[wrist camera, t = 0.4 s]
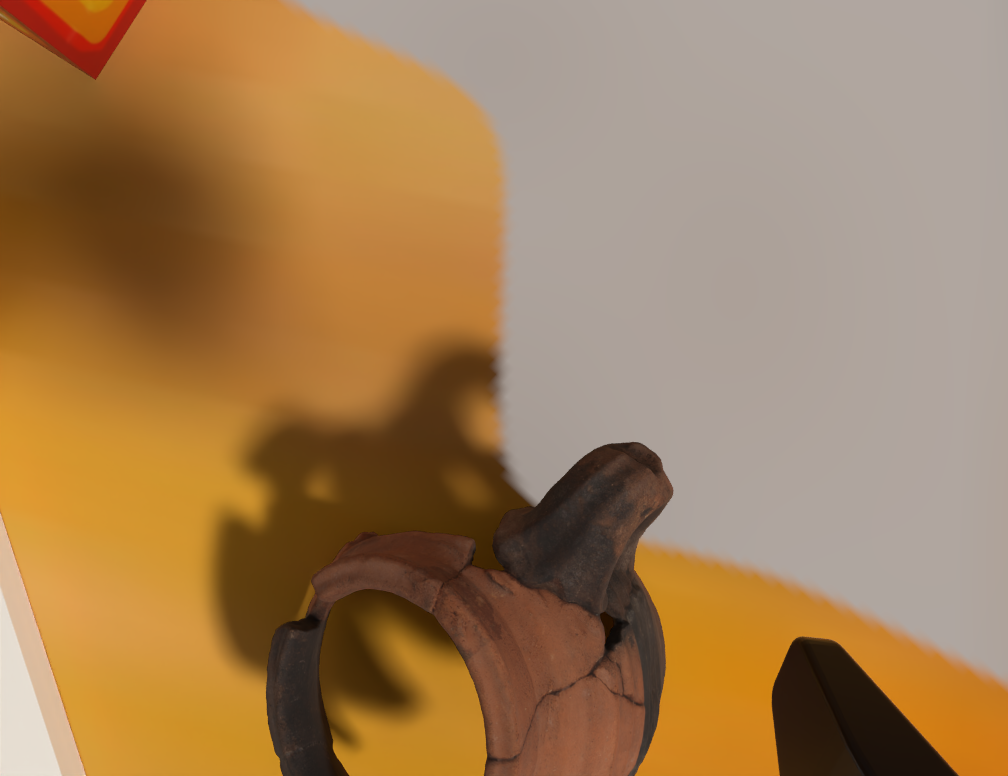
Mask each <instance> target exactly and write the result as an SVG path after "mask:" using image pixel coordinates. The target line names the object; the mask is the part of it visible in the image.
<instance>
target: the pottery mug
mask: <svg viewBox="0 0 1008 776" xmlns="http://www.w3.org/2000/svg"><path fill="white" fill-rule="evenodd" d="M672 495H673V487H672V485H671V483H670V481H669V479H668V478H667V476H666V474H665V472H664V471H663V466H662V462H661V459H660V458H659V457H658V456H657V454H656V453H654V452H653V451H651V450H650V449H649V448H647V447H646V446H645V445H643V444H641V443H638V442H630V443H616V444H607V445H604V446H602V447H599V448H597V449H594V450H593V451H591V452H590V453H588V454H587V455H585V456H584V457H583V458H582V459H580V460H579V461H578V462H577V463H576V464H575V465H574V466H573V467H572V468H571V469H570V470H569V471H568V472H567V473H566V474H565V475H564V476H563V477H562V478H561V479H560V480H559V481H558V482H557V483H556V484H555V485H554V486H553V487H552V488H551V489H550V490H549V491H548V492H547V494H546V495H545V496H544V498H543V499H542V500H541V502H540V503H539V504H538V505H537V506H536V507H535V508H534V507H531V506H530V507H525V508H520V509H513V510H510V511H508V512H507V513H506V514H505V515H504V516H503V518H502V520H501V522H500V525H499V528H498V529H497V530H496V532H495V533H494V536H493V544H492V547H493V550H494V553H495V556H496V559H497V560H498V562H499V563H500V564H501V565H502V566H503V567H504V568H505V570H503V571H498V570H495V569H482V568H480V567H476V566H473V565H472V561H473V555H474V553H475V550H476V545H475V541H474V540H473V539H472V538H469V537H466V536H461V535H451V534H443V533H427V532H421V531H409V532H403V533H396V534H390V535H381V536H378V535H377V534H376V533H375V532H370V533H368V532H362V533H360V534H359V535H358V536H357V538H356V539H355V540H354V541H351V542H348V543H347V544H345V546H344V547H343V548H342V549H341V550H340V551H339V553H338V555H337V556H336V558H335V559H334V561H333V562H332V563H331V564H329V565H327V566H325V567H324V568H322V569H321V570H319V571H318V572H317V573H315V574H314V575H313V577H312V579H311V582H312V585H313V586H314V589H315V595H314V597H313V598H312V600H311V602H310V604H309V607H308V611H307V614H306V617H305V618H304V619H301V620H299V621H291V622H287V623H285V624H283V625H281V626H280V627H279V628H277V629H276V631H275V634H274V636H273V638H272V644H271V650H270V653H269V660H268V666H267V686H266V701H267V715H268V725H269V729H270V734H271V738H272V741H273V745H274V750H275V753H276V755H277V756H278V757H279V758H280V768H281V772H282V774H283V776H349V775H348V773H347V772H346V770H345V769H344V767H343V765H342V764H341V762H340V761H339V760H338V759H337V757H336V755H335V753H334V751H333V739H332V735H331V731H330V727H329V723H328V720H327V717H326V713H325V709H324V704H323V700H322V696H321V688H320V681H319V661H320V649H321V645H322V639H323V634H324V630H325V627H326V622H327V618H328V615H329V613H330V610H331V607H332V606H333V604H334V603H335V601H336V600H339V599H341V598H343V597H345V596H347V595H349V594H351V593H353V592H355V591H358V590H363V589H376V590H382V591H388V592H391V593H394V594H396V595H399V596H401V597H403V598H405V599H407V600H408V601H410V602H412V603H414V604H416V605H417V606H419V607H421V608H422V609H424V610H426V611H427V612H429V613H431V614H433V615H434V616H435V617H436V619H437V621H438V622H439V624H440V625H441V626H442V627H443V628H444V630H445V631H446V632H447V633H448V635H449V636H450V637H451V639H452V640H453V642H454V644H455V645H456V647H457V649H458V651H459V653H460V654H461V656H462V658H463V659H464V661H465V663H466V666H467V668H468V670H469V673H470V675H471V678H472V679H473V682H474V684H475V688H476V691H477V694H478V697H479V701H480V705H481V710H482V714H483V718H484V726H485V734H486V749H487V760H486V764H485V773H484V776H634V775H635V774H636V772H637V770H638V767H639V765H640V764H641V763H642V762H643V760H644V758H645V755H646V753H647V751H648V749H649V746H650V743H651V741H652V737H653V735H654V732H655V730H656V727H657V722H658V715H659V704H660V698H661V693H662V689H663V683H664V676H665V668H666V667H665V664H666V659H665V644H664V637H663V631H662V626H661V622H660V618H659V615H658V612H657V610H656V608H655V606H654V603H653V602H652V600H651V597H650V595H649V593H648V591H647V590H646V588H645V586H644V584H643V583H642V581H641V579H640V578H639V576H638V575H637V573H636V571H635V570H634V562H635V552H636V548H637V544H638V541H639V538H640V537H641V536H642V534H643V533H644V532H645V530H646V529H647V528H648V527H649V525H650V524H651V523H652V522H653V521H654V520H655V519H656V518H657V517H658V516H659V515H660V513H661V512H662V510H663V509H664V508H665V506H666V505H667V503H668V502H669V500H670V499H671V498H672ZM603 612H606V613H607V614H609V615H610V616H611V617H612V618H613V621H614V627H613V628H612V629H611V632H610V635H609V637H608V638H607V640H606V643H605V631H604V626H603V624H602V621H601V618H600V614H601V613H603Z"/></svg>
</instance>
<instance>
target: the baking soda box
mask: <svg viewBox="0 0 1008 776" xmlns="http://www.w3.org/2000/svg"><path fill="white" fill-rule="evenodd" d="M145 2H146V0H0V19H1V20H2V21H4V22H5V23H7V24H8V25H10V26H12V27H13V28H15V29H16V30H18V31H19V32H21V33H23V34H24V35H26V36H27V37H29V38H30V39H32V40H34V41H35V42H37V43H38V44H40V45H42V46H43V47H45V48H46V49H48V50H49V51H51V52H53V53H54V54H56V55H57V56H59V57H60V58H62V59H64V60H65V61H67V62H68V63H70V64H72V65H73V66H75V67H76V68H78V69H79V70H81V71H83V72H84V73H86V74H87V75H89V76H90V77H92V78H94V79H95V80H96V78H97V77H98V75H99V73H100V72H101V70H102V69H103V67H104V66H105V64H106V63H107V61H108V59H109V58H110V56H111V55H112V53H113V52H114V50H115V49H116V47H117V45H118V44H119V42H120V41H121V39H122V38H123V36H124V35H125V33H126V31H127V30H128V28H129V27H130V25H131V24H132V22H133V20H134V19H135V17H136V16H137V14H138V13H139V11H140V10H141V8H142V6H143V5H144V3H145Z"/></svg>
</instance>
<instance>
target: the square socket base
mask: <svg viewBox="0 0 1008 776" xmlns="http://www.w3.org/2000/svg"><path fill="white" fill-rule="evenodd" d="M0 776H86V774H85V771H84V768H83V765H82V762H81V759H80V756H79V753H78V750H77V747H76V743H75V740H74V737H73V734H72V731H71V728H70V725H69V722H68V719H67V716H66V713H65V710H64V707H63V704H62V701H61V697H60V694H59V691H58V688H57V685H56V682H55V679H54V676H53V673H52V670H51V667H50V664H49V661H48V658H47V655H46V651H45V648H44V645H43V642H42V639H41V636H40V633H39V630H38V627H37V624H36V621H35V618H34V615H33V612H32V609H31V605H30V602H29V599H28V596H27V593H26V590H25V587H24V584H23V581H22V578H21V575H20V572H19V569H18V566H17V562H16V559H15V556H14V553H13V550H12V547H11V544H10V541H9V538H8V535H7V532H6V529H5V526H4V523H3V520H2V516H1V513H0Z"/></svg>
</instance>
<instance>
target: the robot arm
mask: <svg viewBox="0 0 1008 776" xmlns="http://www.w3.org/2000/svg"><path fill="white" fill-rule="evenodd" d="M772 711H773V720H774V729H775V738H776V746H777V755H778V764H779V773H780V776H959V775H958V774H957V773H956V772H955V771H954V770H953V769H952V768H951V767H950V765H949V764H948V763H947V762H946V761H945V760H944V759H943V758H942V757H941V756H940V754H939V753H938V752H937V751H936V750H935V749H934V748H933V747H932V746H931V744H930V743H929V742H928V741H927V740H926V739H925V738H924V737H923V736H922V735H921V733H920V732H919V731H918V730H917V729H916V728H915V727H914V726H913V725H912V723H911V722H910V721H909V720H908V719H907V718H906V717H905V716H904V715H903V714H902V712H901V711H900V710H899V709H898V708H897V707H896V706H895V705H894V704H893V703H892V701H891V700H890V699H889V698H888V697H887V696H886V695H885V694H884V693H883V691H882V690H881V689H880V688H879V687H878V686H877V685H876V684H875V683H874V682H873V680H872V679H871V678H870V677H869V676H868V675H867V674H866V673H865V672H864V670H863V669H862V668H861V667H860V666H859V665H858V664H857V663H856V662H855V661H854V659H853V658H852V657H851V656H850V655H849V654H848V653H847V652H846V651H845V649H844V648H843V647H842V646H841V645H839V644H838V643H837V642H835V641H833V640H829V639H821V638H812V637H798V638H796V639H795V640H794V641H793V642H792V644H791V645H790V648H789V650H788V652H787V655H786V657H785V659H784V662H783V664H782V666H781V669H780V671H779V673H778V676H777V678H776V680H775V683H774V686H773V691H772Z"/></svg>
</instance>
